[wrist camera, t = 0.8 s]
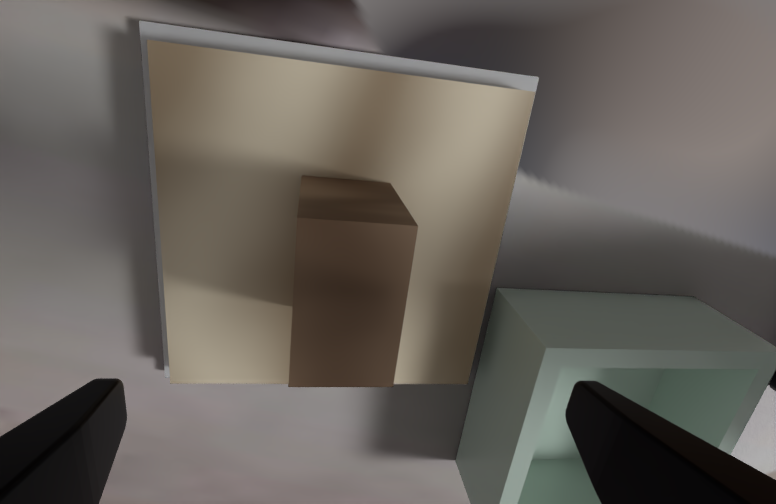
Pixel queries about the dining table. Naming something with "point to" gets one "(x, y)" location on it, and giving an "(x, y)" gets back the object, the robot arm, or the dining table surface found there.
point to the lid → (326, 217)
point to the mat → (298, 53)
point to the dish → (607, 366)
